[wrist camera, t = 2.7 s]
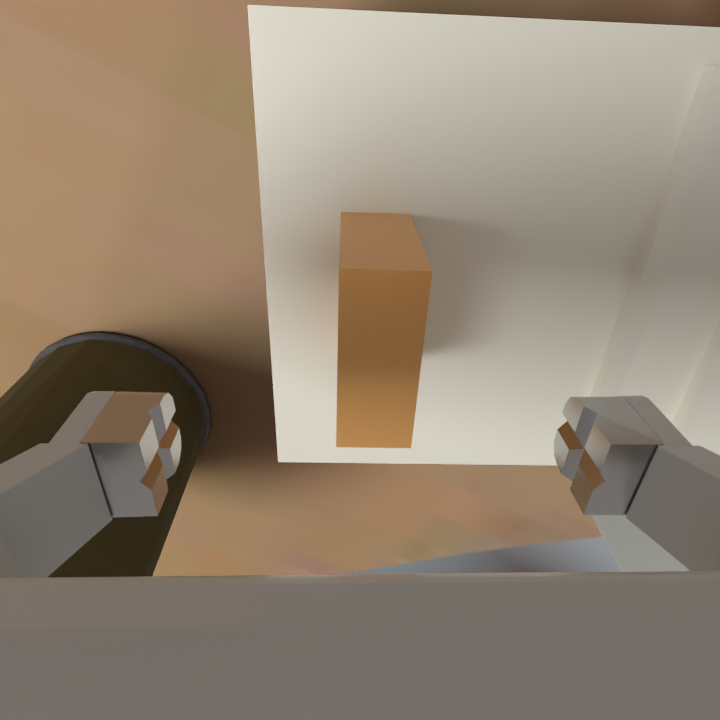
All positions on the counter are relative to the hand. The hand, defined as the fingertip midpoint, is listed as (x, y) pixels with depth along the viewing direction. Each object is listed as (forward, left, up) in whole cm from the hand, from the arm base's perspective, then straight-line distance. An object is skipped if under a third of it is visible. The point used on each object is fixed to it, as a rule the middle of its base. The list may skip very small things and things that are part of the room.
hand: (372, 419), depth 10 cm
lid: (-6, 0, -8) cm, 10 cm away
